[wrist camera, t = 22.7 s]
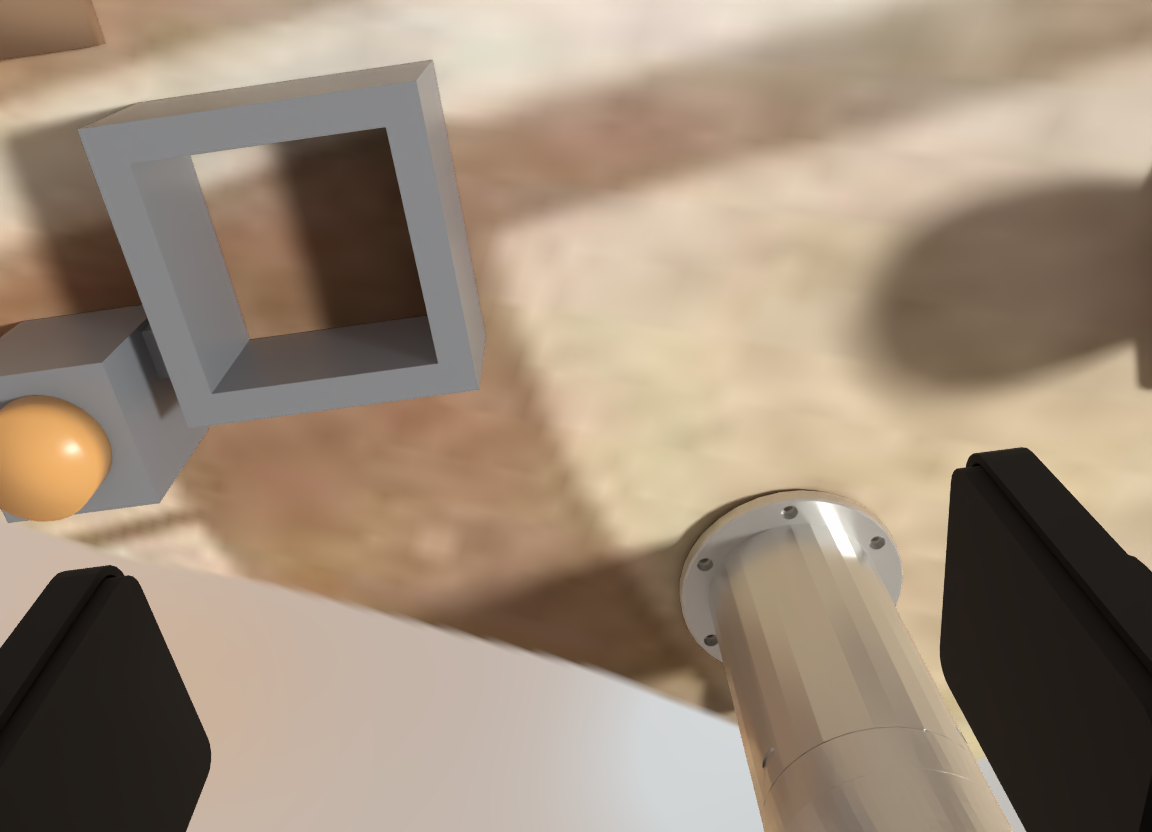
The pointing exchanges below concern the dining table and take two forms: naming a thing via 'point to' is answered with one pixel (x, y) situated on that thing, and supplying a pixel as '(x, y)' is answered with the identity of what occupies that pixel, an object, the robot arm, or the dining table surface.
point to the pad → (46, 27)
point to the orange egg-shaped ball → (49, 458)
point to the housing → (206, 297)
